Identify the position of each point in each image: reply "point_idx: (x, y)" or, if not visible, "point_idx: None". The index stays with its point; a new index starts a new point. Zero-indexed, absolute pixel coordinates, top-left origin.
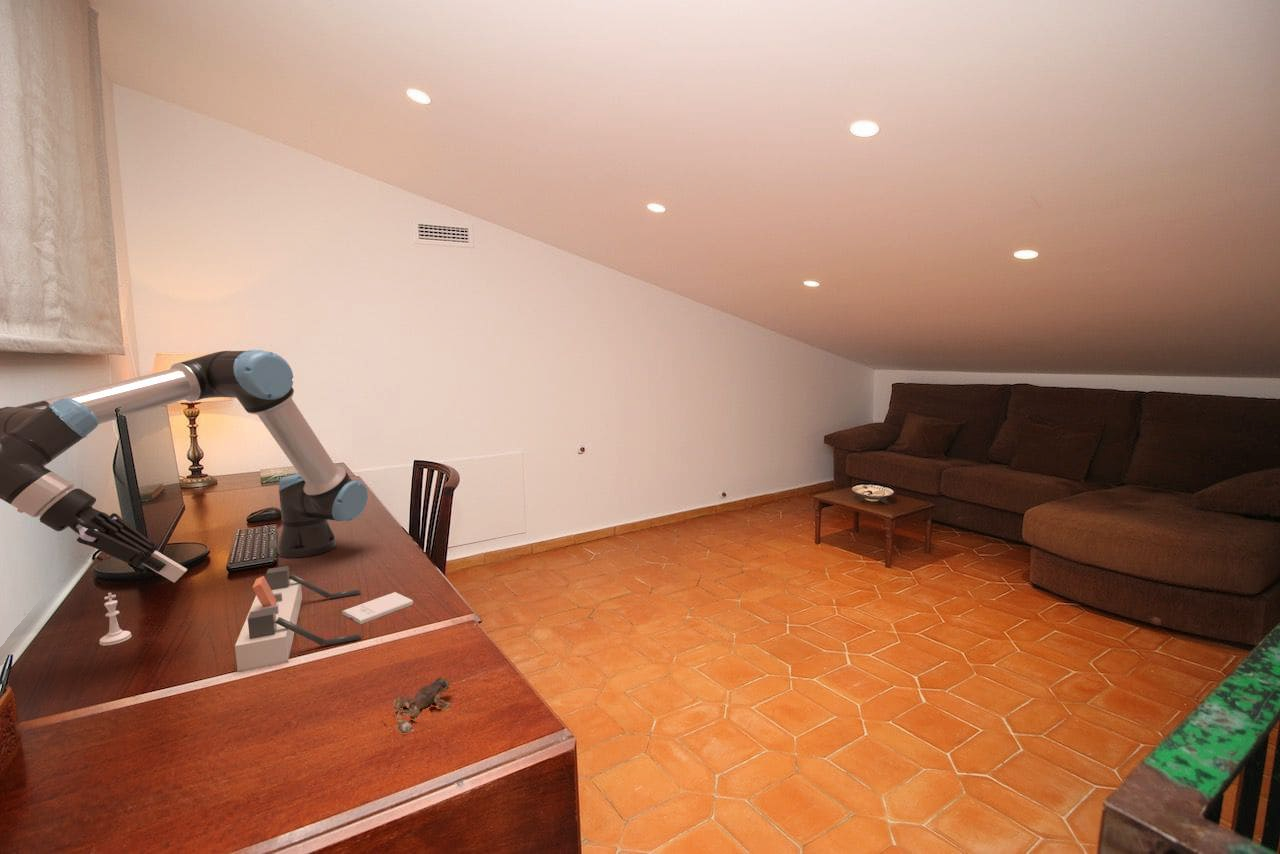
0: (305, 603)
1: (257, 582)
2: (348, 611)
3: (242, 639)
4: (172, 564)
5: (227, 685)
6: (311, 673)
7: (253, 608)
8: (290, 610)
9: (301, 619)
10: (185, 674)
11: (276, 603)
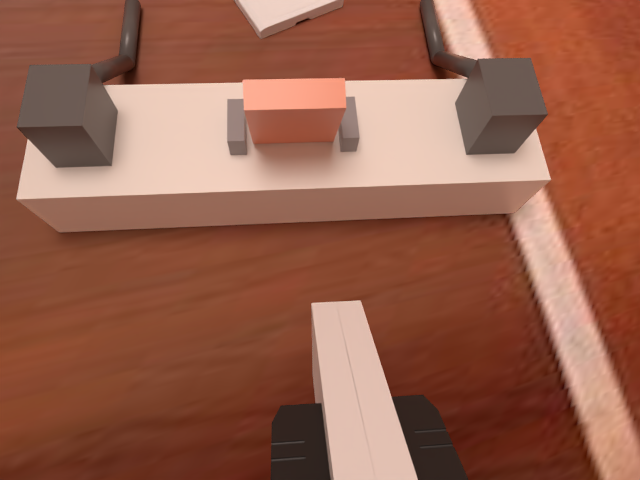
0: None
1: (303, 95)
2: (276, 18)
3: (513, 169)
4: (376, 358)
5: (575, 220)
6: (557, 77)
7: (274, 182)
8: None
9: None
10: (495, 331)
11: None
